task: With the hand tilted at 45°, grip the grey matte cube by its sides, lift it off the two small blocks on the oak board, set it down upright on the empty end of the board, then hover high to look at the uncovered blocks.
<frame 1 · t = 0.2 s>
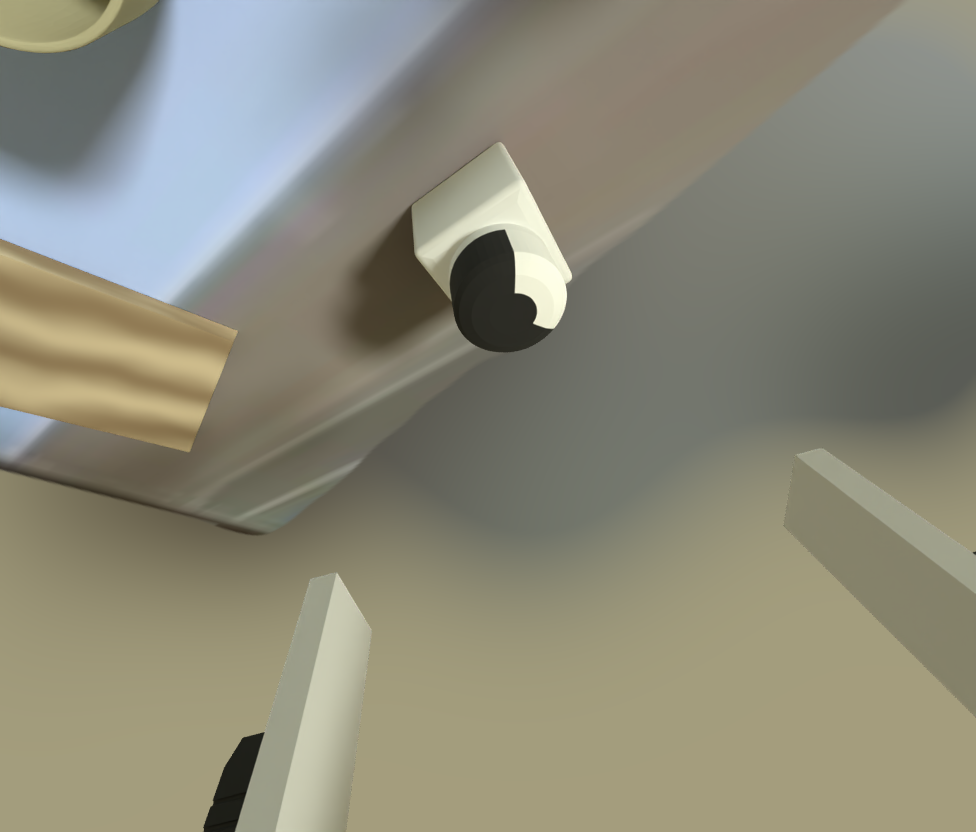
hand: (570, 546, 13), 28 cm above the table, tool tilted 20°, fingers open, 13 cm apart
container: (481, 217, 33), on the table
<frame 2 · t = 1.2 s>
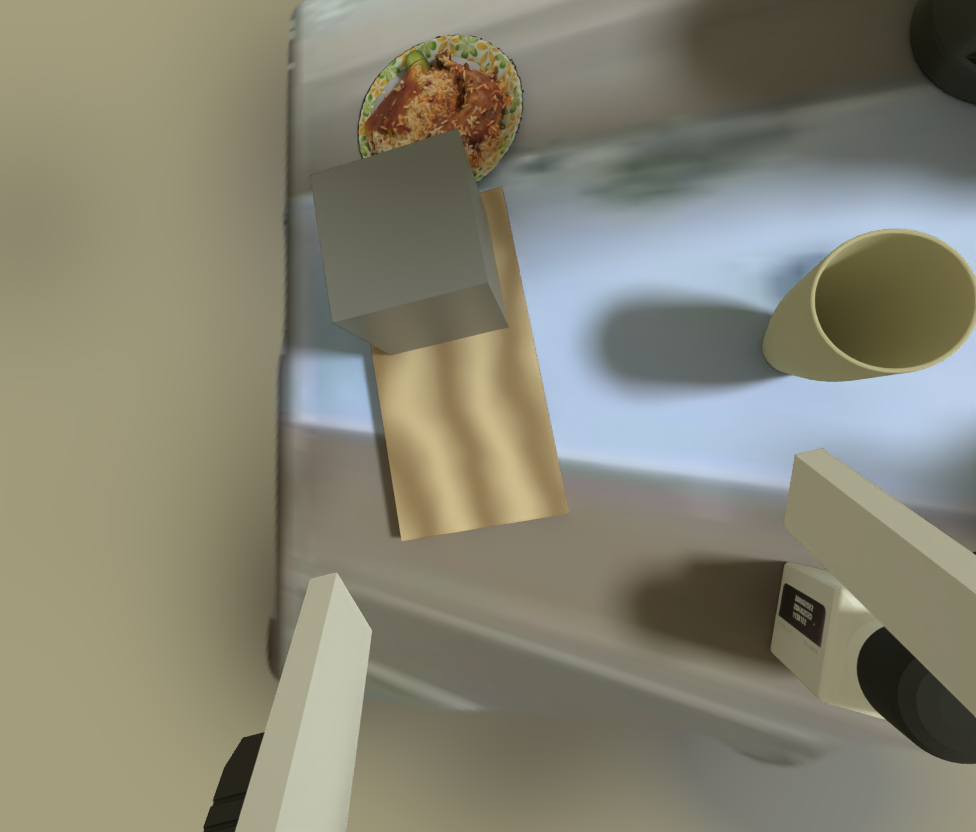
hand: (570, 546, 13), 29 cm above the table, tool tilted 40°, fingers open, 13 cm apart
mug: (803, 342, 38), on the table
food: (440, 125, 47), on the table
container: (825, 617, 36), on the table
board: (456, 364, 43), on the table
grey matte cube: (438, 283, 43), point 1 cm above the table, touching board
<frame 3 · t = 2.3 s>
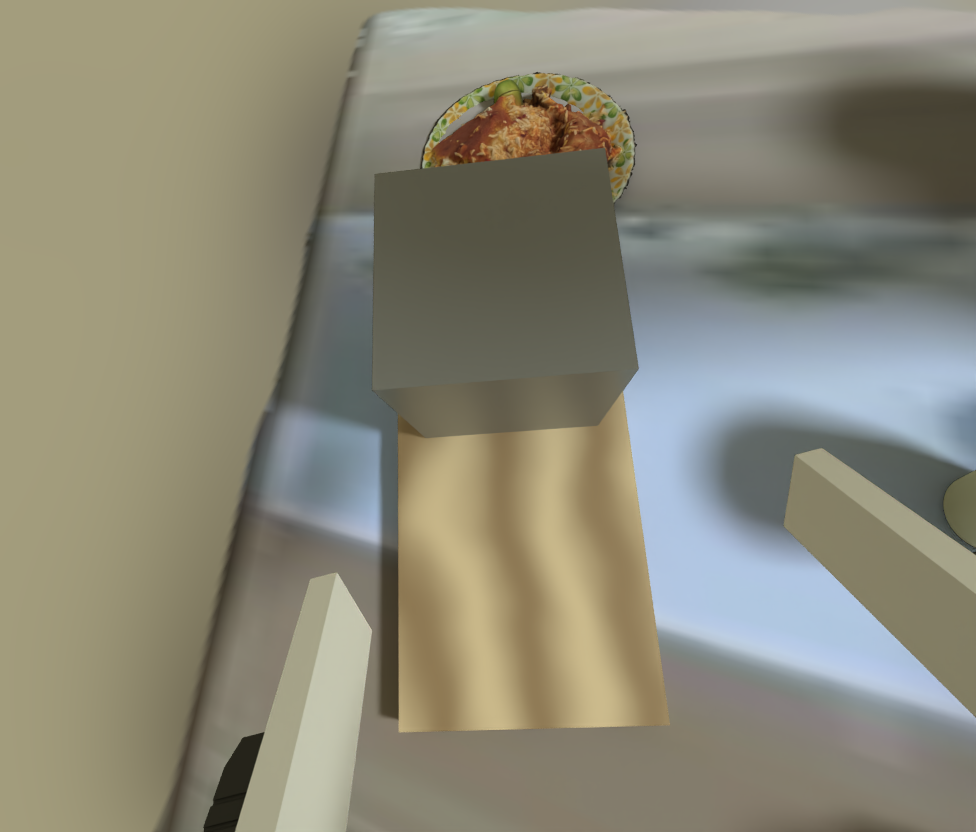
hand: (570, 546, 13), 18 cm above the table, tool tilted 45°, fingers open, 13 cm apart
food: (524, 167, 38), on the table
board: (513, 463, 31), on the table
grey matte cube: (505, 351, 32), point 1 cm above the table, touching board
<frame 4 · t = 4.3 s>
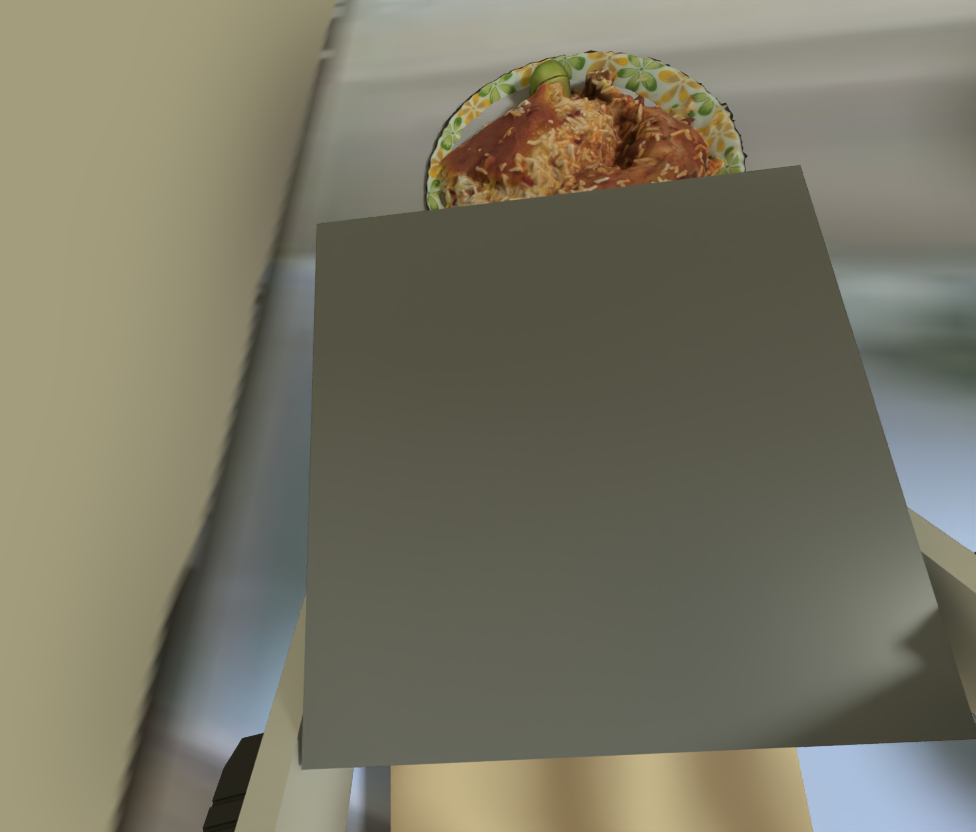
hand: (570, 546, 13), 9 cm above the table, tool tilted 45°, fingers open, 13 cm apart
food: (575, 187, 26), on the table
board: (576, 670, 19), on the table
grey matte cube: (550, 481, 20), point 2 cm above the table, touching board
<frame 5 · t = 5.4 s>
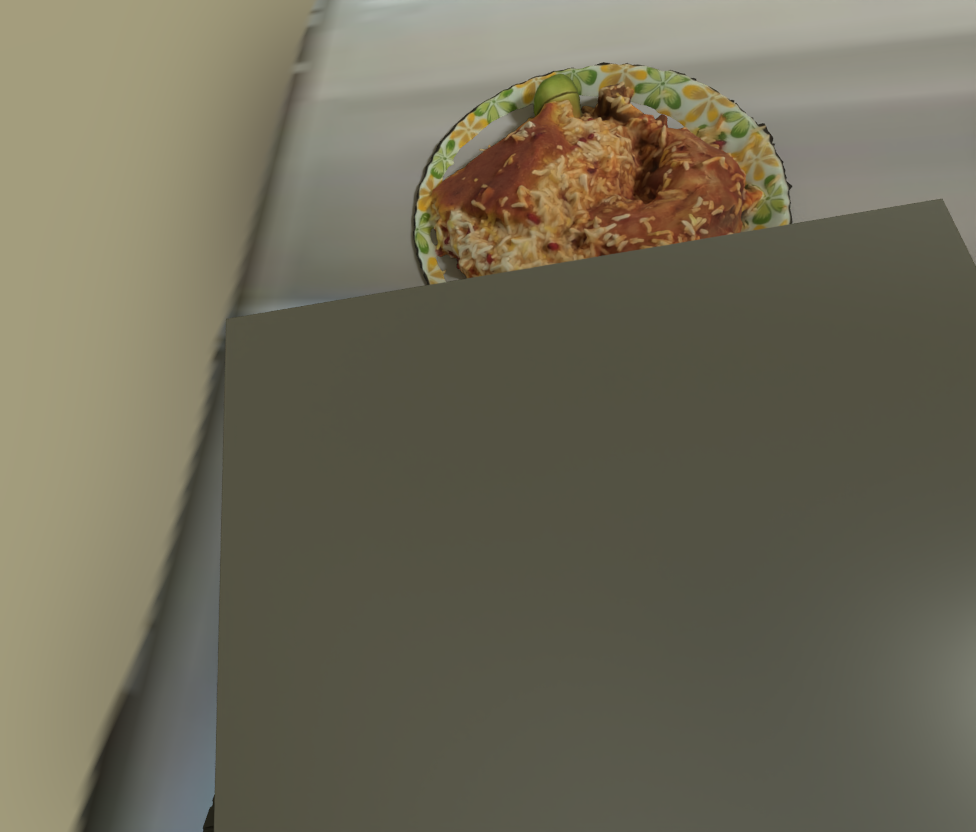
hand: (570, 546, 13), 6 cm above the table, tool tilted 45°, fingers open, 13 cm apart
food: (587, 221, 23), on the table
grey matte cube: (570, 572, 16), point 1 cm above the table, touching board, gripper, white block
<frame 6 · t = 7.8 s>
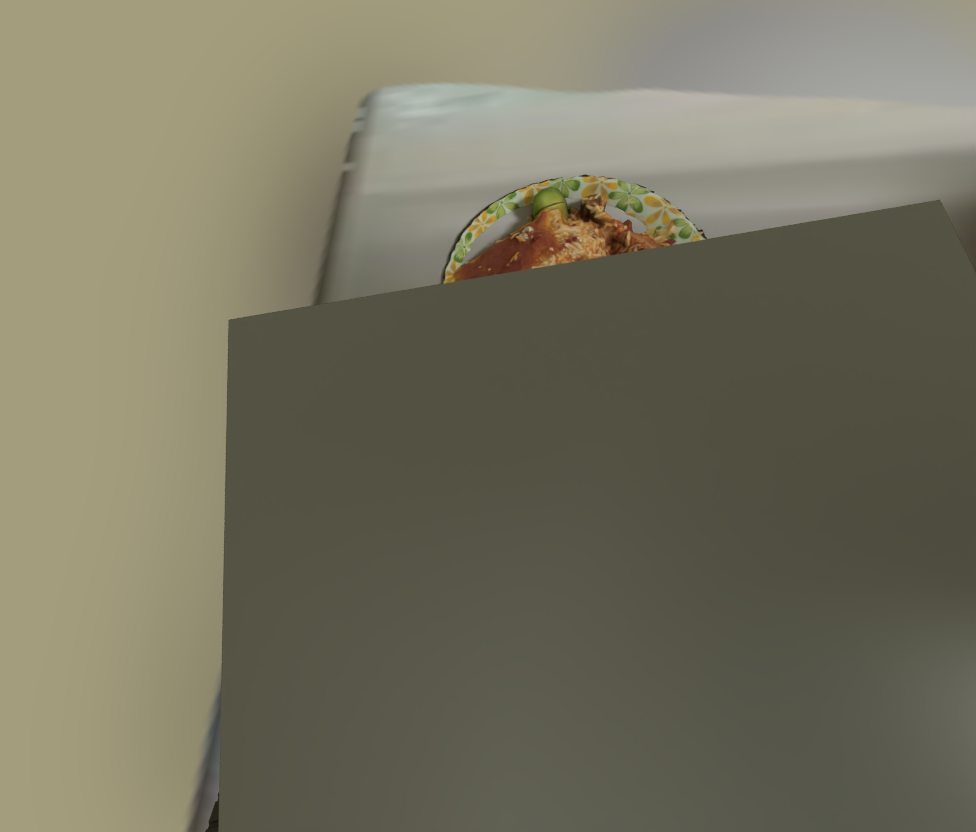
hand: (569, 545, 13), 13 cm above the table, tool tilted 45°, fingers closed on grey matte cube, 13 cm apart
food: (572, 297, 30), on the table
grey matte cube: (570, 572, 16), point 9 cm above the table, touching gripper
when the fingers open (7 cm above the table, at t = 13.4 s): grey matte cube drops 1 cm, resting on board.
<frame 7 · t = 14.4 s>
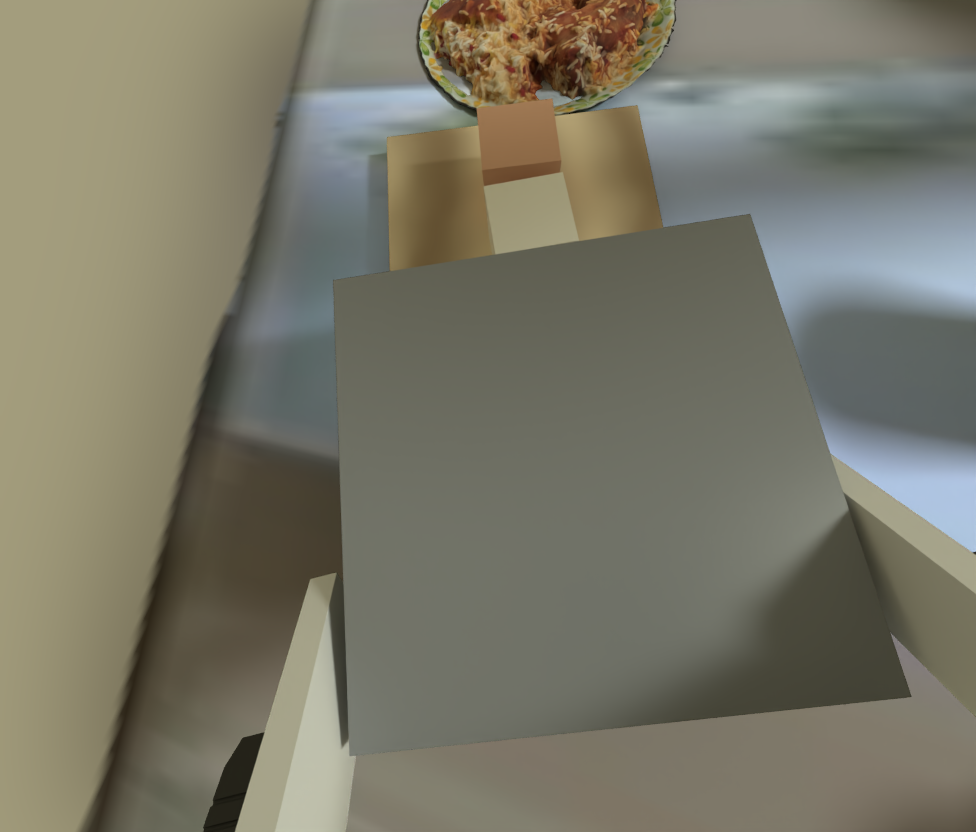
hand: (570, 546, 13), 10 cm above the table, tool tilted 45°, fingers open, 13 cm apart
white block: (528, 261, 25), point 1 cm above the table, touching board
terracotta block: (518, 191, 26), point 1 cm above the table, touching board
food: (541, 36, 32), on the table
board: (535, 364, 25), on the table
grey matte cube: (549, 490, 22), point 2 cm above the table, touching board
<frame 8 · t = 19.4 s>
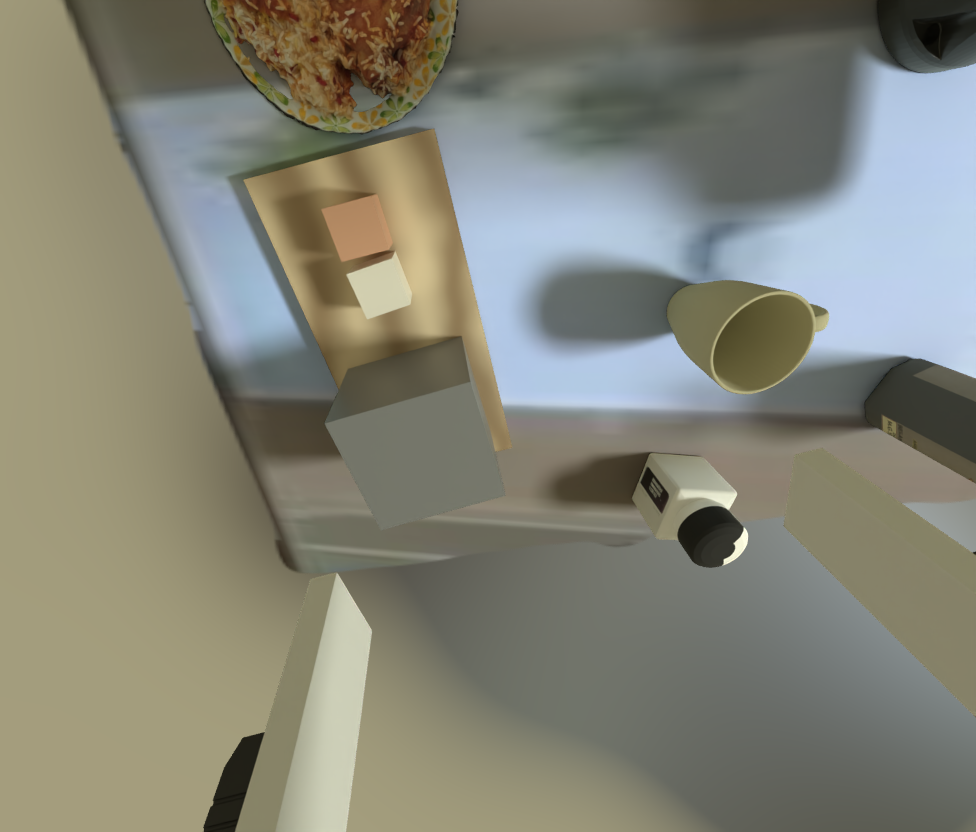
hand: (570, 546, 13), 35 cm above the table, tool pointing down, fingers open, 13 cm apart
white block: (383, 279, 40), point 1 cm above the table, touching board
terracotta block: (362, 224, 38), point 1 cm above the table, touching board
mug: (697, 302, 47), on the table
liquor: (899, 392, 56), on the table
container: (665, 476, 58), on the table
board: (403, 333, 44), on the table
grey matte cube: (423, 402, 47), point 1 cm above the table, touching board
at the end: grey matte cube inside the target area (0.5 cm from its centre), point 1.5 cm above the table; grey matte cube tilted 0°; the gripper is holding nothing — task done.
